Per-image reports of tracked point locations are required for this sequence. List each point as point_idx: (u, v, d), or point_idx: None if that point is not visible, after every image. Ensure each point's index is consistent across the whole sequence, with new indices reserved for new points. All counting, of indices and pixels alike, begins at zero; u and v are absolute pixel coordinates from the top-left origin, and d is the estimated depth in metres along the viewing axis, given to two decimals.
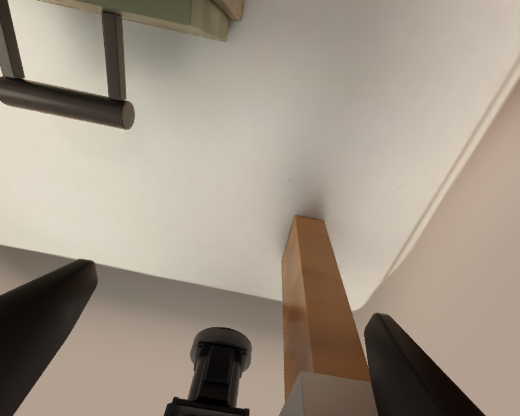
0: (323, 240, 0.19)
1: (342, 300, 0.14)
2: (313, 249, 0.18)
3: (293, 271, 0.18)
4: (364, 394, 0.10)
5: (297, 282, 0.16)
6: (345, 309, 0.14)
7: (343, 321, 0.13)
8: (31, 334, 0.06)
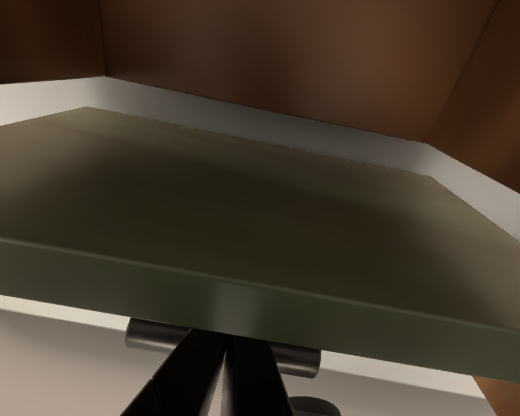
0: None
1: None
2: None
3: None
4: None
5: None
6: None
7: None
8: (219, 366, 0.06)
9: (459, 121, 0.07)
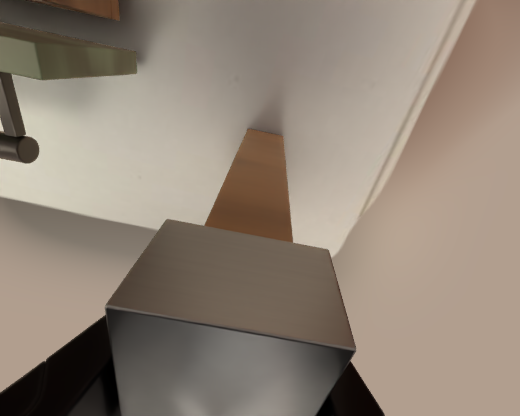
0: (275, 146, 0.15)
1: (279, 184, 0.10)
2: (259, 149, 0.14)
3: None
4: (265, 249, 0.06)
5: None
6: (280, 190, 0.10)
7: (272, 199, 0.09)
8: None
9: None
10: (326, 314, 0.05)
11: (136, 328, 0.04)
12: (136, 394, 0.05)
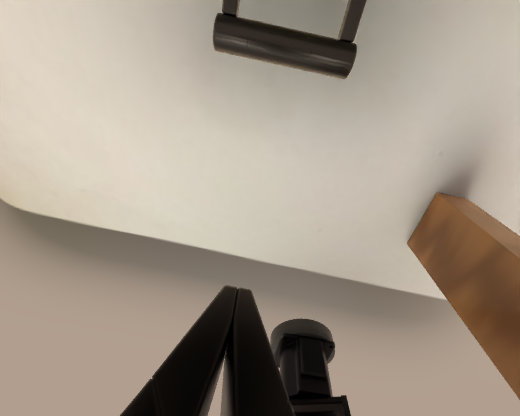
0: (488, 217, 0.18)
1: None
2: (489, 225, 0.16)
3: (465, 249, 0.17)
4: None
5: (490, 259, 0.15)
6: None
7: None
8: (219, 365, 0.06)
9: None
10: None
11: None
12: None
